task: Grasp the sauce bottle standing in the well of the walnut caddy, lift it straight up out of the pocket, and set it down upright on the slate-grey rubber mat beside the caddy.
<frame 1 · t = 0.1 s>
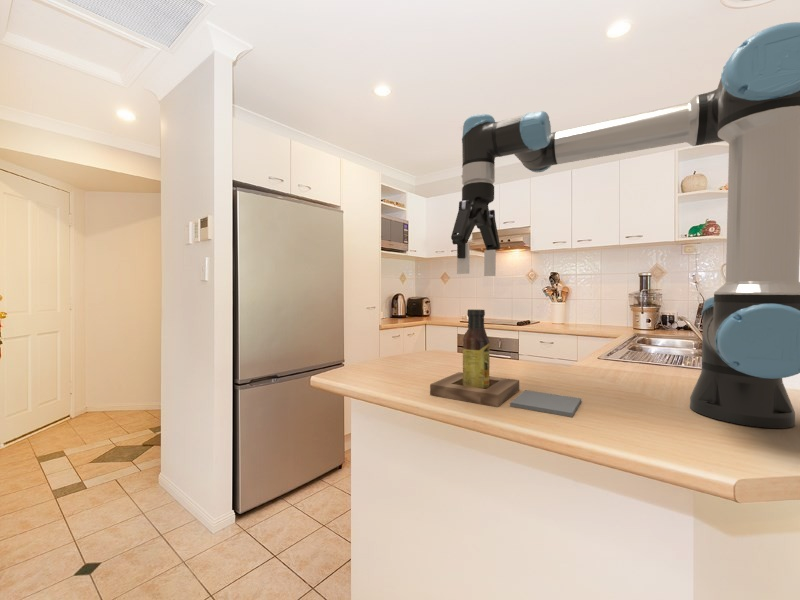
hand: (477, 275, 88), 28 cm above the countertop, fingers open, 13 cm apart
sauce bottle: (475, 393, 88), resting in caddy
caddy: (475, 392, 88), on the countertop
mat: (546, 404, 79), on the countertop
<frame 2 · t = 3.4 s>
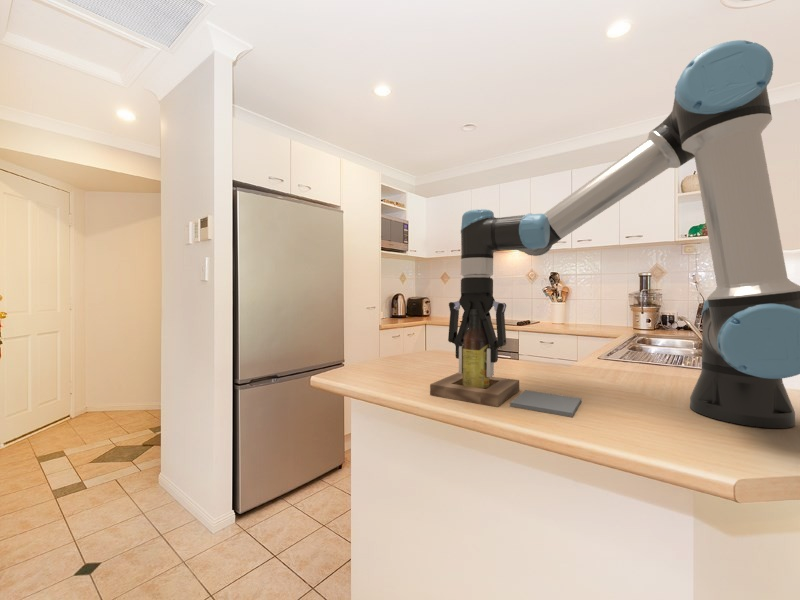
hand: (476, 374, 88), 4 cm above the countertop, fingers closed on sauce bottle, 6 cm apart
sauce bottle: (475, 393, 88), resting in caddy, touching gripper
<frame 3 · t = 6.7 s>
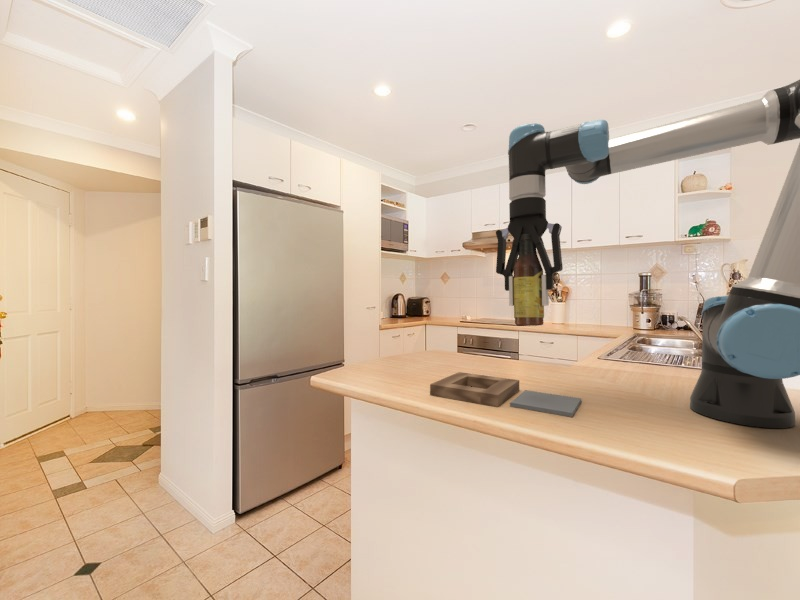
hand: (528, 305, 81), 21 cm above the countertop, fingers closed on sauce bottle, 6 cm apart
sauce bottle: (528, 326, 81), point 16 cm above the countertop, touching gripper
when the fingers open (6 cm above the countertop, at t = 10.4 s): sauce bottle drops 1 cm, resting on mat.
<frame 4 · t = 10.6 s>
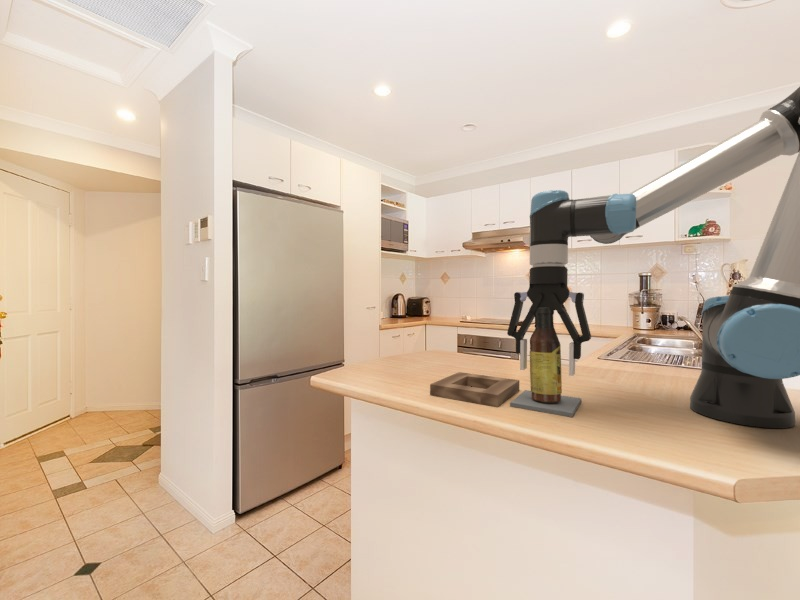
hand: (546, 371, 79), 7 cm above the countertop, fingers open, 9 cm apart
sauce bottle: (545, 400, 79), point 1 cm above the countertop, touching mat
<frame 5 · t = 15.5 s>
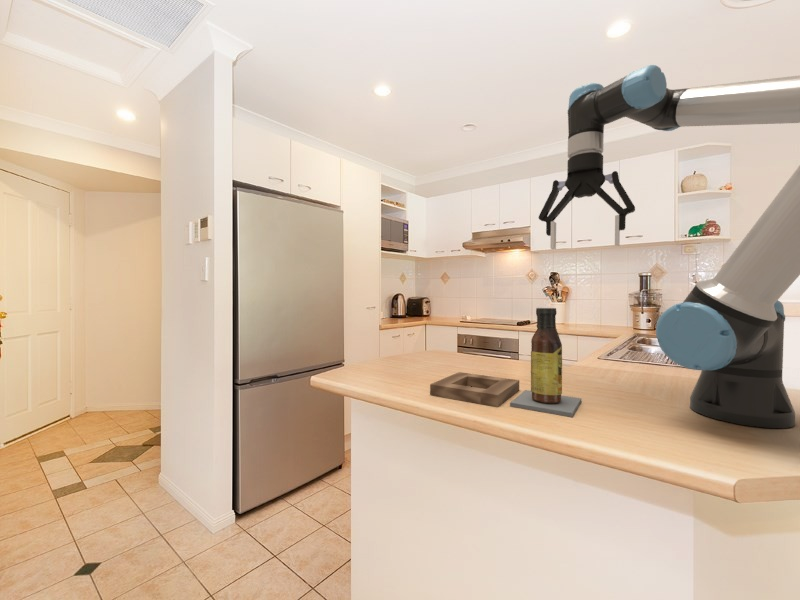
hand: (583, 247, 87), 35 cm above the countertop, fingers open, 13 cm apart
nothing on the countertop moved.
at the end: sauce bottle inside the target area on the mat (0.1 cm from its centre), point 0.6 cm above the mat's base; sauce bottle tilted 0°; the gripper is holding nothing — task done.
